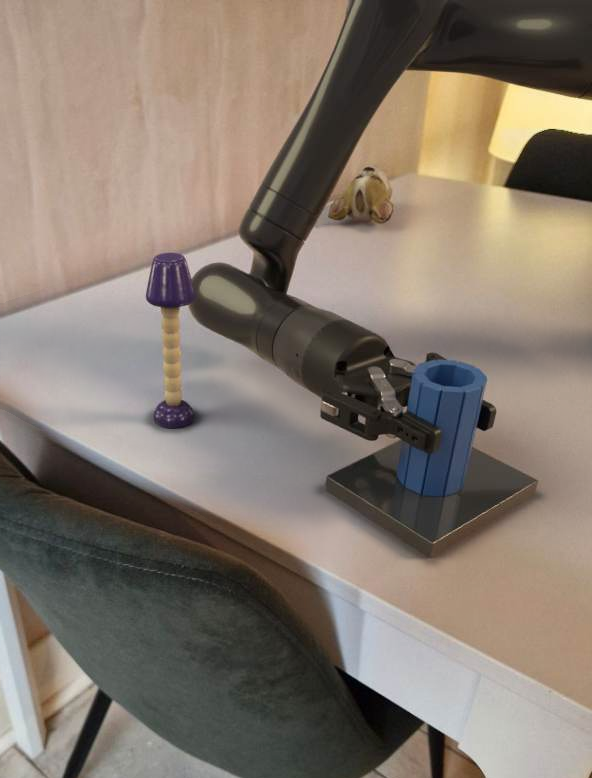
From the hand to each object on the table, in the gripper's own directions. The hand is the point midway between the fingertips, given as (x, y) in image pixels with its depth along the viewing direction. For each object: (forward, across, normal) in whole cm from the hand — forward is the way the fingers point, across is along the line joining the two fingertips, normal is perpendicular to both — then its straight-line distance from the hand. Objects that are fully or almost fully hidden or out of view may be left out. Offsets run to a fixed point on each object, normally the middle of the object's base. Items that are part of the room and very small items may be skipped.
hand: (464, 431), depth 62 cm
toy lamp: (-27, -12, +8) cm, 30 cm away
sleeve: (-2, 0, +6) cm, 6 cm away
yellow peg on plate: (-2, 0, +8) cm, 8 cm away
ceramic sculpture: (-66, +50, +8) cm, 83 cm away
